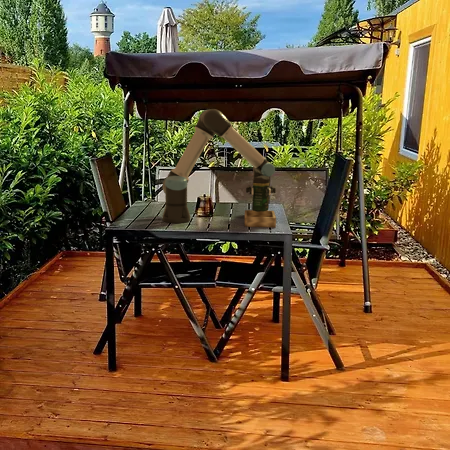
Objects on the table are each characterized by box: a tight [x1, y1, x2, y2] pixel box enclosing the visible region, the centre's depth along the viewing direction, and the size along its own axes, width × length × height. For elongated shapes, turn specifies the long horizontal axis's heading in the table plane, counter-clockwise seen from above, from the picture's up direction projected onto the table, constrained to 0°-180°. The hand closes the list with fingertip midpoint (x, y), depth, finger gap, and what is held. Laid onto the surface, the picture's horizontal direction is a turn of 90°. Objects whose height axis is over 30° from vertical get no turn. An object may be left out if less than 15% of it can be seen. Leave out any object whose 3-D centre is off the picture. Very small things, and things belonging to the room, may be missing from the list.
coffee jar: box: [251, 176, 270, 212], centre depth 247 cm, size 10×8×19 cm
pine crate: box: [244, 209, 277, 228], centre depth 250 cm, size 16×20×5 cm
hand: (261, 192), depth 243 cm, fingers closed on coffee jar, 8 cm apart
